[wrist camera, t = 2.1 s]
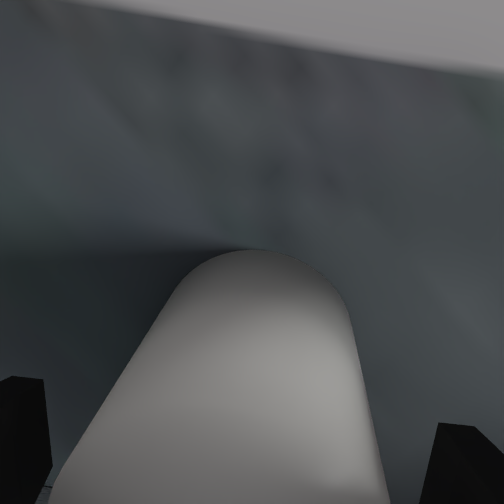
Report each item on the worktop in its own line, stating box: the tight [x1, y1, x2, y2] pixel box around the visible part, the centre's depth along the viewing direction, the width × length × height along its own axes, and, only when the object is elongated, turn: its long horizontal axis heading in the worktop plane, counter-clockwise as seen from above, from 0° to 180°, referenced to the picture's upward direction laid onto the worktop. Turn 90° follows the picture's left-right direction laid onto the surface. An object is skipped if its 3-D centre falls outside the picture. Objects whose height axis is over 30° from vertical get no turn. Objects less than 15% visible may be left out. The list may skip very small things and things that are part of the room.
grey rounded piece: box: [48, 250, 391, 504], centre depth 10 cm, size 5×7×6 cm
